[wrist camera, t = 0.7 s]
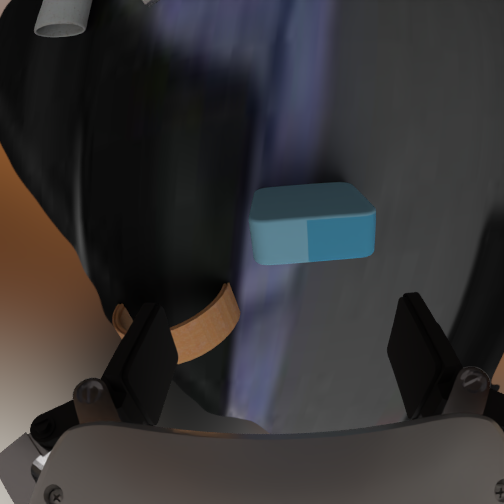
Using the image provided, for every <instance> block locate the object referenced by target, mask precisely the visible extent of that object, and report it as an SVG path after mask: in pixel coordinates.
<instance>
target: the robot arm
mask: <svg viewBox="0 0 504 504" xmlns="http://www.w3.org/2000/svg"><path fill="white" fill-rule="evenodd" d="M387 353H388V357H389V360H390V363H391V366H392V368H393V371H394V374H395V377H396V380H397V383H398V387H399V390H400V393H401V396H402V399H403V402H404V406H405V409H406V412H407V416H408V418H409V419H412V420H409V421H404V422H398V423H392V424H385V425H379V426H373V427H366V428H358V429H350V430H340V431H329V432H316V433H298V434H232V433H214V432H201V431H190V430H181V429H171V428H163V427H155V426H153V425H156V424H157V423H158V421H159V417H160V415H161V411H162V408H163V405H164V402H165V399H166V396H167V393H168V390H169V387H170V384H171V381H172V378H173V375H174V372H175V369H176V366H177V363H178V352H177V349H176V346H175V343H174V340H173V337H172V334H171V330H170V327H169V324H168V321H167V318H166V314H165V311H164V308H163V307H162V306H160V305H159V304H158V303H144V304H143V305H142V307H141V308H140V310H139V312H138V313H137V315H136V317H135V319H134V320H133V322H132V324H131V326H130V327H129V329H128V331H127V333H126V334H125V335H124V337H123V339H122V340H121V342H120V344H119V346H118V348H117V350H116V351H115V353H114V355H113V357H112V359H111V360H110V362H109V364H108V366H107V368H106V370H105V372H104V374H103V376H102V378H101V379H98V378H89V379H85V380H83V381H82V382H80V383H79V384H78V385H77V386H76V387H75V389H74V392H73V400H71V401H69V402H67V403H65V404H63V405H61V406H58V407H56V408H54V409H52V410H50V411H48V412H45V413H43V414H41V415H39V416H38V417H36V418H35V419H34V421H33V422H32V424H31V428H30V433H29V434H27V433H24V434H23V435H22V436H21V437H19V438H18V439H17V440H16V441H14V442H13V443H12V444H11V445H9V446H8V447H7V448H6V449H5V450H3V451H2V452H1V453H0V479H1V481H2V483H3V484H4V486H5V488H6V490H7V492H8V494H9V495H10V497H11V499H12V500H13V502H14V504H504V394H502V393H500V392H497V391H495V390H493V389H491V388H490V379H489V377H488V375H487V374H486V373H485V372H484V371H483V370H481V369H479V368H477V367H466V368H463V367H462V365H461V363H460V361H459V359H458V357H457V356H456V354H455V352H454V350H453V348H452V346H451V345H450V343H449V341H448V339H447V337H446V336H445V334H444V332H443V330H442V329H441V327H440V325H439V324H438V323H437V322H436V321H435V319H434V317H433V315H432V314H431V312H430V310H429V309H428V307H427V306H426V304H425V302H424V301H423V299H422V297H421V296H420V294H419V293H418V292H414V293H405V294H404V295H403V297H400V298H399V301H398V306H397V310H396V315H395V319H394V323H393V327H392V331H391V335H390V339H389V343H388V347H387Z"/></svg>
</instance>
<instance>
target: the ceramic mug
mask: <svg viewBox="0 0 504 504" xmlns="http://www.w3.org/2000/svg"><path fill="white" fill-rule="evenodd" d="M91 3H92V0H43V3H42V6H41V9H40V12H39V15H38V18H37V21H36V25H35V29H34V32H35V34H37V35H40V36H45V37H66V36H73V35H77V34H80V33H83V32H84V31H85V30H86V27H87V21H88V17H89V13H90V8H91Z"/></svg>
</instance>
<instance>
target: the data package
mask: <svg viewBox="0 0 504 504" xmlns="http://www.w3.org/2000/svg"><path fill="white" fill-rule="evenodd" d="M375 224H376V209H375V207H374V206H373V205H372V204H371V203H370V202H369V201H368V200H367V199H366V198H365V197H364V196H363V195H362V194H361V193H360V192H359V191H358V190H357V189H356V188H355V187H354V186H353V185H352V184H350V183H345V182H332V183H317V184H303V185H290V186H278V187H267V188H262V189H258V190H256V191H255V192H254V196H253V201H252V205H251V210H250V214H249V225H250V233H251V240H252V248H253V256H254V260H255V261H256V262H257V263H259V264H263V265H278V264H291V263H303V262H315V261H327V260H339V259H351V258H362V257H367V256H369V255H371V254H372V253H373V252H374V245H375Z"/></svg>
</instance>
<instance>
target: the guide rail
mask: <svg viewBox="0 0 504 504" xmlns="http://www.w3.org/2000/svg"><path fill="white" fill-rule="evenodd" d="M142 1H143V2H144V3H145V4H146V5H147V6H148V7H151V6H152V5H154V4H155V3H156V2H158V1H159V0H142Z"/></svg>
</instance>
